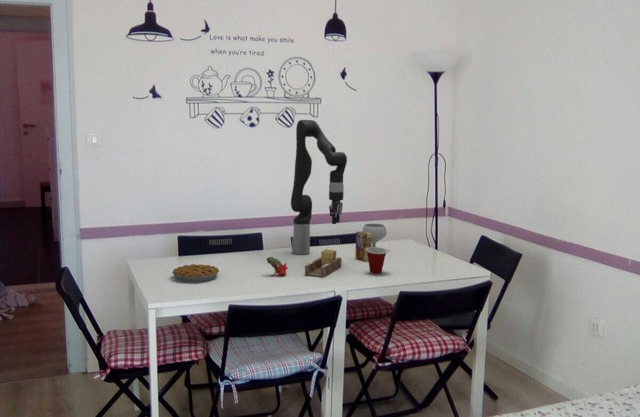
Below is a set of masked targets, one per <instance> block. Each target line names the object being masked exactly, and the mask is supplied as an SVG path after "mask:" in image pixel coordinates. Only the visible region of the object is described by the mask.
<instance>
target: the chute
mask: <svg viewBox="0 0 640 417" xmlns="http://www.w3.org/2000/svg"><path fill="white" fill-rule="evenodd" d="M340 268H342V257H336V259H335V260H333V261H331V262H330V263H328V264H325V265H323V266H322V267H321V257H318V258H317V259H315V260H313V261H311V262H308V263H306V265H304V276H307V277H314V278H322V279H324V278H326V277H327V276H329V275H330V274H332V273H334V272H336V271H337V270H339V269H340Z"/></svg>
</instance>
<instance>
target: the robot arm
mask: <svg viewBox="0 0 640 417" xmlns="http://www.w3.org/2000/svg"><path fill="white" fill-rule="evenodd" d="M295 129H296V131H295V132H296V133H295V134H296V135H295V136H296V148H295V149H296V150H295V162H294V177H293V186H292V192H291V198H290V207H291V209H292V211H293V212H294V213H298V215H297V216H295V217H294V218H293V236H292V237H291V253H292V254H295V255H298V256H300V255H303V256H305V255H309V254H310V250H311V249H310V248H311V246H310V245H311V241H310V240H311V219H312V216H313V215H312V212H313V201H312V198H311V196H310V195H308V194H303V193H304V189H305V185H306V184H307V182H308V180H309V178H310V176H311V174H312V165H313V160H312V158H311V155H310V153H309V151H308V148H307V144H306V137H307V138H312V137H313V138H314V139H316V145H317V149H318V150H319V152H321V154H322V155H323V156H324V159H325V161H326V163H327V165H329V166H330V167H336V168H335V169H333V170H331V171H330V172H329V184H328V199H329V201H331V203H330V205H329V206H328V207H329V208H328V209H329V216H330V217H331V223H332V225H336V224H337V223H340V220H341V219H340V216H341V214H342V212H343V202H341V201H343V200H344V186H345V185H344V174H345V170H346V167H347V163H348V158H347V154H346V153H345V152H343V151H337V150H336V147H335V145H334V144H333V143H331V141H330V140H329V139H328V138H327V137H326V135H325V133H324V132H323V131H322V129H321V127H320V126H319V124H318V123H317V121H316V120H313V119H299V120H298V122H297V124H296V128H295Z"/></svg>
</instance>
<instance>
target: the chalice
mask: <svg viewBox="0 0 640 417" xmlns="http://www.w3.org/2000/svg"><path fill="white" fill-rule="evenodd" d="M361 231H363V232H367V233H372V247H377V246H376V245H377V243H378V242H379V241H381V240H383V239H384V238H385V237H386V236H387V228H386V226H385V225H384V224H382V223H366V224H364V225H363V227H362V230H361Z"/></svg>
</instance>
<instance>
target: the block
mask: <svg viewBox="0 0 640 417" xmlns="http://www.w3.org/2000/svg"><path fill="white" fill-rule="evenodd" d="M320 256H321V267H322V266H323V265H325V264H328V263H330V262H331V261H333V260H335V259H337V250H333V249H324V250H322V251H321V253H320Z"/></svg>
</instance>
